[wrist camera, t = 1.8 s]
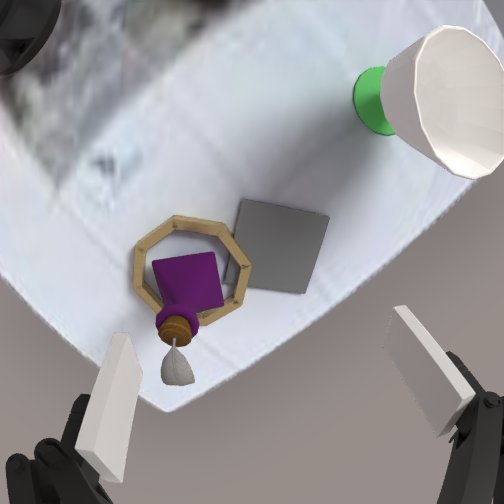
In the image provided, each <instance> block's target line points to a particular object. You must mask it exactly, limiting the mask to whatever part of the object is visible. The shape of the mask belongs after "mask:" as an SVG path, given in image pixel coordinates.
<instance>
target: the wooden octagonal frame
mask: <svg viewBox="0 0 504 504" xmlns="http://www.w3.org/2000/svg"><path fill="white" fill-rule="evenodd" d="M175 229H178V230H184V231H190V232H197V233H203V234H209V235H215V236H218V237H219V238H220V239H221V241H222V242H223V243H224V245H225V246H226V247H227V249H228V250H229V251H230V253H231V254H232V255H233V257H234V258H235V259H236V261H237V262H238V263H239V265H240V270H239V275H238V279H237V284H235V289H234V293H233V295H232V296H231V297H229V298H227V299H225V300H224V306H223V307H219V308H215V309H210V310H207V311H205V312H199V313H196V316H197V318H198V320H199V323H200V324H199V326H207V325H209V324H211V323H212V322H214V321H216V320H218V319H219V318H221V317H223V316H225V315H226V314H228V313H230V312H232V311H233V310H235V309H237V308H239V307H240V306H241V305H242V304H243V299H244V295H245V291H246V287H247V283H248V279H249V275H250V271H251V267H252V264H251V261H250V260H249V258H248V257H247V256H246V254H245V253H244V251H243V250H242V249H241V247H240V246H239V245H238V243H237V242H236V240H235V239H234V236H233V235H232V233H231V232H230V231H229V229H228V228H227V227H226V225H225V224H223V223H222V222H216V221H210V220H204V219H198V218H192V217H186V216H179V215H175V216H172V217H171V218H169V219H168V220H167V221H165V222H164V223H162V224H161V225H160V226H158V227H157V228H156V229H154V230H153V231H151V232H150V233H149V234H147V235H146V236H145V237H143V238H142V239H141V240H139V241H138V243H137V244H136V246H135V253H134V272H133V288H134V290H135V291H136V293H137V294H138V295H139V296H140V297H141V298H142V299H143V300H144V301H145V302H146V303H147V304H148V306H149V307H150V308H151V309H152V310H153V311H154V312H155V313H156V314H158V313H159V312H160V311H161V309H162V308H163V307H164V304H163V301H162V300H161V299H160V298H159V297H158V296H157V295H156V294H155V293H154V292H153V290H152V289H151V288H150V287H149V286H148V285H147V284H146V283H145V281H144V276H145V261H146V250H147V249H149V248H150V247H151V246H153V245H154V244H155V243H157V242H158V241H160V240H161V239H162V238H164V237H165V236H167V235H168V234H169V233H171V232H172V231H174V230H175Z"/></svg>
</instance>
